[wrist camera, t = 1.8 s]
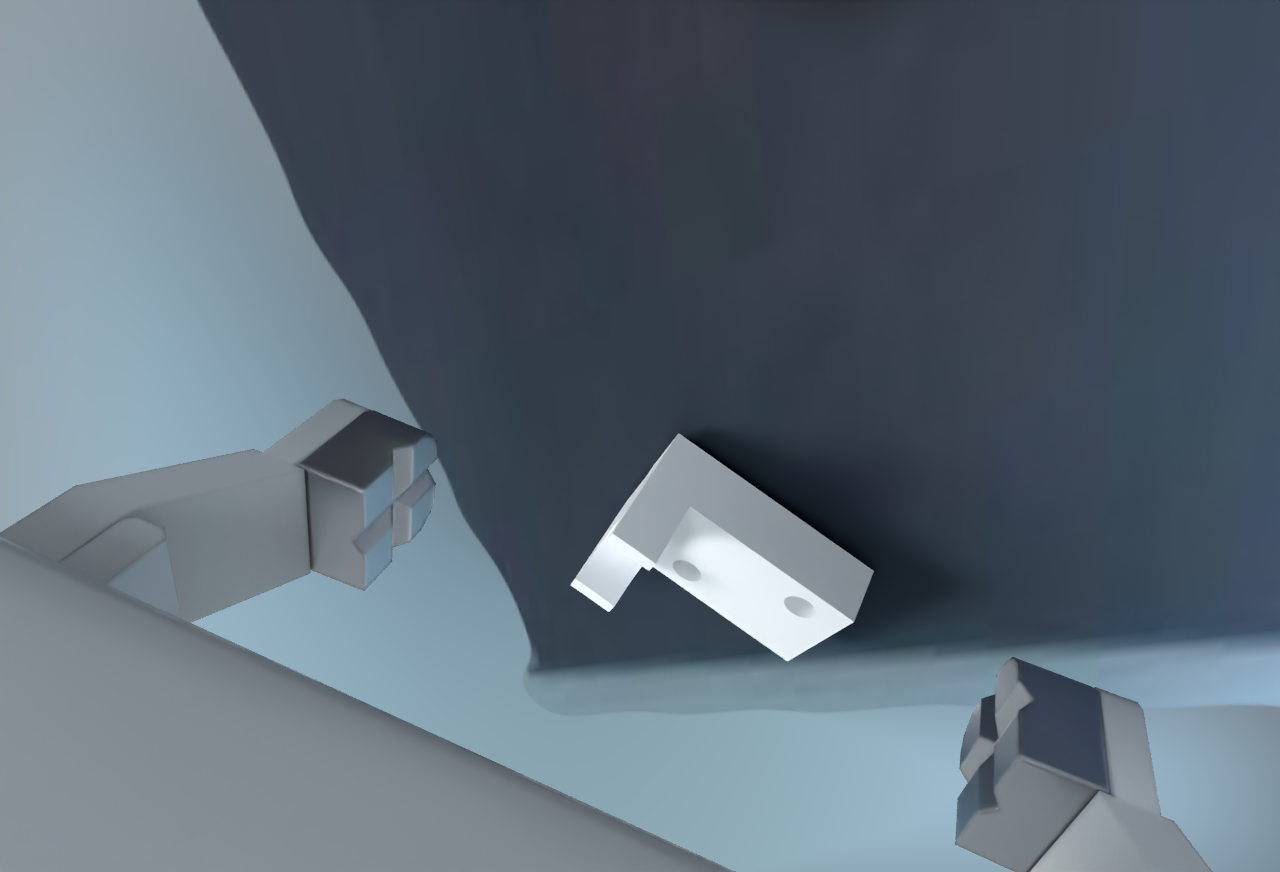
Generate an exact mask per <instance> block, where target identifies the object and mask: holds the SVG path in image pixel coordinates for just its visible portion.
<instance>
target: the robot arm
mask: <svg viewBox="0 0 1280 872" xmlns="http://www.w3.org/2000/svg"><path fill="white" fill-rule="evenodd" d="M436 459H437V440H436V439H435V438H434V437H433V435H432V434H430V433H427V432H425V431H422V430H420V429H417V428H415V427H412V426H410V425H407V424H405V423H403V422H400V421H398V420H396V419H393V418H391V417H388V416H386V415H383V414H381V413H379V412H376V411H371V410H369V409H367V408H365V407H362V406H360V405H357V404H355V403H353V402H350V401H348V400H345V399H340V400H334V401H332V402H331V403H329V404H328V405H326V406H325V407H324V408H322V409H321V410H320V411H318V412H317V413H316V414H314V415H313V416H312V417H310V418H309V419H307V420H306V421H305V422H303V423H302V424H301V425H299V426H298V427H297V428H295V429H294V430H293V431H291V432H290V433H288V434H287V435H286V436H284V437H283V438H282V439H280V440H279V441H278V442H276V443H275V444H274V445H272V446H271V447H270V448H268V449H267V450H265V451H264V452H263V453H262V452H260V451H257V450H255V449H252V450H247V451H242V452H237V453H232V454H227V455H222V456H217V457H213V458H208V459H203V460H198V461H193V462H189V463H183V464H178V465H174V466H169V467H164V468H159V469H154V470H149V471H145V472H140V473H135V474H130V475H125V476H120V477H115V478H110V479H105V480H101V481H96V482H91V483H86V484H82V485H76V486H74V487H72V488H71V489H69V490H68V491H66V492H64V493H63V494H61V495H60V496H58V497H56V498H55V499H53V500H52V501H50V502H49V503H47V504H45V505H44V506H42V507H40V508H39V509H37V510H36V511H34V512H32V513H31V514H30V515H28V516H26V517H25V518H23V519H21V520H20V521H18V522H17V523H15V524H13V525H12V526H10V527H9V528H7V529H5V530H4V531H2V532H1V533H0V872H735V871H732V870H730V869H728V868H726V867H724V866H721V865H719V864H717V863H715V862H713V861H710V860H708V859H706V858H704V857H702V856H700V855H697V854H695V853H693V852H691V851H689V850H686V849H684V848H682V847H680V846H677V845H676V844H673V843H671V842H669V841H666V840H664V839H662V838H660V837H658V836H656V835H654V834H651V833H649V832H647V831H645V830H643V829H640V828H638V827H636V826H634V825H632V824H630V823H627V822H625V821H623V820H621V819H618V818H616V817H614V816H612V815H610V814H608V813H605V812H603V811H601V810H599V809H597V808H594V807H592V806H590V805H588V804H586V803H583V802H581V801H579V800H577V799H575V798H572V797H570V796H568V795H566V794H564V793H562V792H559V791H557V790H555V789H553V788H551V787H549V786H546V785H544V784H542V783H540V782H538V781H535V780H533V779H531V778H529V777H526V776H524V775H522V774H520V773H518V772H516V771H514V770H511V769H509V768H507V767H505V766H502V765H500V764H498V763H496V762H494V761H492V760H489V759H487V758H485V757H483V756H481V755H478V754H476V753H474V752H472V751H470V750H467V749H465V748H463V747H461V746H459V745H457V744H454V743H452V742H450V741H448V740H445V739H443V738H441V737H439V736H437V735H434V734H432V733H430V732H428V731H426V730H424V729H422V728H419V727H417V726H415V725H413V724H411V723H408V722H406V721H404V720H402V719H400V718H397V717H395V716H393V715H391V714H389V713H386V712H384V711H382V710H380V709H378V708H375V707H373V706H371V705H369V704H367V703H365V702H362V701H360V700H358V699H356V698H353V697H351V696H349V695H347V694H345V693H342V692H341V691H338V690H336V689H334V688H332V687H329V686H327V685H325V684H323V683H321V682H319V681H316V680H314V679H312V678H310V677H308V676H305V675H303V674H301V673H299V672H297V671H295V670H292V669H290V668H288V667H286V666H283V665H281V664H279V663H277V662H275V661H273V660H270V659H268V658H266V657H264V656H261V655H259V654H257V653H255V652H253V651H251V650H248V649H246V648H244V647H242V646H240V645H237V644H235V643H233V642H231V641H229V640H227V639H224V638H222V637H220V636H218V635H216V634H213V633H211V632H209V631H207V630H205V629H202V628H200V627H198V626H196V625H193V624H192V623H191V622H193V621H196V620H198V619H201V618H203V617H206V616H208V615H210V614H213V613H215V612H218V611H220V610H223V609H225V608H227V607H230V606H232V605H235V604H237V603H239V602H242V601H244V600H247V599H249V598H252V597H254V596H256V595H259V594H261V593H264V592H266V591H268V590H271V589H273V588H276V587H278V586H281V585H283V584H285V583H288V582H290V581H293V580H295V579H298V578H300V577H302V576H305V575H307V574H309V573H310V572H311V570H312V571H315V572H318V573H320V574H323V575H325V576H328V577H330V578H333V579H335V580H338V581H341V582H343V583H345V584H348V585H351V586H353V587H356V588H358V589H361V590H363V591H365V589H366V588H367V587H368V586H369V585H370V584H371V583H372V582H373V581H374V580H375V579H376V578H377V577H378V576H379V575H380V574H381V573H382V571H383V570H384V569H385V568H386V567H387V566H388V565H389V564H390V563H391V562H392V547H396V546H399V545H402V544H405V543H408V542H410V541H411V540H412V539H413V538H414V537H415V536H416V534H417V533H418V532H419V531H420V530H421V529H422V527H423V525H424V523H425V521H426V519H427V518H428V516H429V514H430V512H431V508H432V505H433V501H434V497H435V484H436V483H435V482H434V480H433V478H432V476H431V474H430V473H429V470H428V469H427V468H428V467H429V466H430V465H431V464H432V463H433V462H434V461H435V460H436ZM960 770H961V772H962V774H963V775H964V777H965V779H966V780H967V782H968V784H967V785H966V787H965V788H964V790H963V791H962V793H961V794H960V796H959V797H958V803H957V823H956V842H955V844H956V845H958V846H960V847H962V848H964V849H966V850H969V851H971V852H973V853H975V854H977V855H979V856H982V857H984V858H986V859H988V860H990V861H993V862H995V863H997V864H999V865H1001V866H1004V867H1006V868H1008V869H1010V870H1012V871H1014V872H1212V871H1211V869H1210V868H1209V867H1208V865H1207V864H1206V863H1205V862H1204V860H1203V859H1202V858H1201V856H1200V855H1199V854H1198V852H1197V851H1196V850H1195V848H1194V847H1193V846H1192V844H1191V843H1190V842H1189V840H1188V839H1187V838H1186V836H1185V835H1184V834H1183V832H1182V831H1181V830H1180V829H1179V827H1178V826H1177V824H1176V823H1175V822H1174V821H1172V820H1170V819H1167V818H1165V817H1162V816H1161V812H1160V806H1159V800H1158V794H1157V788H1156V783H1155V777H1154V771H1153V765H1152V759H1151V754H1150V748H1149V742H1148V736H1147V731H1146V724H1145V718H1144V713H1143V709H1142V708H1141V707H1140V705H1139V704H1138V703H1137V702H1135V701H1132V700H1129V699H1126V698H1124V697H1121V696H1118V695H1115V694H1113V693H1110V692H1107V691H1104V690H1102V689H1099V688H1096V687H1095V688H1092V687H1091V686H1088V685H1086V684H1083V683H1080V682H1078V681H1075V680H1072V679H1070V678H1067V677H1064V676H1062V675H1059V674H1057V673H1054V672H1051V671H1049V670H1046V669H1043V668H1041V667H1038V666H1035V665H1033V664H1030V663H1027V662H1025V661H1022V660H1019V659H1017V658H1014V657H1012V658H1010V659H1009V660H1008V661H1007V662H1006V663H1005V664H1004V665H1003V667H1002V668H1001V670H1000V671H999V673H998V674H997V676H996V693H995V695H992V696H989V697H986V698H983V699H981V701H980V702H979V704H978V706H977V707H976V709H975V711H974V713H973V714H972V716H971V719H970V721H969V724H968V726H967V729H966V732H965V734H964V738H963V743H962V749H961V757H960Z"/></svg>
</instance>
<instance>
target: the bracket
mask: <svg viewBox="0 0 1280 872" xmlns="http://www.w3.org/2000/svg"><path fill="white" fill-rule="evenodd" d="M641 567H644V568H645V569H647V570H648V571H649V570H650V569H651V568H652V567H654V568H656V569H657V570H658V571H660V572H661V573H663V574H664V575H665V576H667V577H668V578H670V579H671V580H673V581H674V582H675V583H677V584H678V585H680V586H681V587H683V588H684V589H685V590H687V591H688V592H690V593H691V594H692V595H694V596H695V597H697V598H698V599H700V600H701V601H702V602H704V603H705V604H707V605H708V606H709V607H711V608H712V609H714V610H715V611H717V612H718V613H719V614H721V615H722V616H724V617H725V618H726V619H728V620H729V621H731V622H732V623H734V624H735V625H736V626H738V627H739V628H741V629H742V630H744V631H745V632H746V633H748V634H749V635H751V636H752V637H753V638H755V639H756V640H758V641H759V642H761V643H762V644H763V645H765V646H766V647H768V648H769V649H770V650H772V651H773V652H775V653H776V654H778V655H779V656H780V657H782V658H783V659H785V660H786V661H789V660H791V659H792V658H794V657H796V656H797V655H799V654H801V653H802V652H804V651H806V650H807V649H809V648H811V647H813V646H814V645H816V644H818V643H819V642H821V641H823V640H824V639H826V638H828V637H829V636H831V635H833V634H835V633H836V632H838V631H840V630H841V629H843V628H845V627H846V626H848V625H850V624H852V623H853V622H854V621H855V618H856V616H857V613H858V611H859V608H860V606H861V603H862V600H863V598H864V595H865V593H866V590H867V588H868V585H869V583H870V580H871V577H872V575H873V572H874V571H873V570H872V569H870V568H869V567H867V566H866V565H865V564H863V563H862V562H860V561H859V560H858V559H856V558H855V557H853V556H852V555H850V554H849V553H848V552H846V551H845V550H843V549H842V548H841V547H839V546H838V545H836V544H835V543H833V542H832V541H831V540H829V539H828V538H826V537H825V536H824V535H822V534H821V533H819V532H818V531H816V530H815V529H814V528H812V527H811V526H809V525H808V524H807V523H805V522H804V521H802V520H801V519H799V518H798V517H797V516H795V515H794V514H792V513H791V512H790V511H788V510H787V509H785V508H784V507H782V506H781V505H780V504H778V503H777V502H775V501H774V500H773V499H771V498H770V497H768V496H767V495H765V494H764V493H763V492H761V491H760V490H758V489H757V488H756V487H754V486H753V485H751V484H750V483H748V482H747V481H746V480H744V479H743V478H741V477H740V476H739V475H737V474H736V473H734V472H733V471H731V470H730V469H729V468H727V467H726V466H724V465H723V464H722V463H720V462H719V461H717V460H716V459H714V458H713V457H712V456H710V455H709V454H707V453H706V452H705V451H703V450H702V449H700V448H699V447H697V446H696V445H695V444H693V443H692V442H690V441H689V440H688V439H686V438H685V437H683V436H682V435H680V434H679V433H678V435H677V436H676V437H675V439H674V440H673V441H672V442H671V444H670V445H669V446H668V448H667V449H666V450H665V451H664V453H663V454H662V455H661V456H660V458H659V459H658V460H657V462H656V463H655V464H654V466H653V467H652V469H651V470H650V472H649V473H648V475H647V476H646V477H645V479H644V480H643V481H642V482H641V484H640V485H639V486H638V488H637V489H636V490H635V491H634V493H633V494H632V495H631V496H630V498H629V499H628V500H627V502H626V503H625V504H624V506H623V507H622V509H621V510H620V512H619V513H618V515H617V516H616V518H615V519H614V521H613V522H612V524H611V525H610V527H609V528H608V530H607V531H606V533H605V534H604V536H603V537H602V539H601V540H600V542H599V543H598V545H597V546H596V548H595V549H594V551H593V552H592V554H591V555H590V557H589V558H588V560H587V561H586V563H585V564H584V566H583V567H582V569H581V570H580V572H579V573H578V575H577V576H576V578H575V579H574V581H573V582H572V584H571V586H573V587H574V588H575V589H577V590H578V591H580V592H581V593H583V594H584V595H585V596H587V597H588V598H590V599H591V600H592V601H594V602H595V603H597V604H598V605H600V606H601V607H602V608H604V609H605V610H607V611H608V612H609V611H610V610H611V609H612V608H613V607H614V606H615V605H616V603H617V602H618V600H619V598H620V597H621V595H622V594H623V592H624V591H625V589H626V588H627V586H628V585H629V584H630V582H631V581H632V579H633V578H634V576H635V575H636V574H637V572H638V571H639V570H640V568H641Z"/></svg>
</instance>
